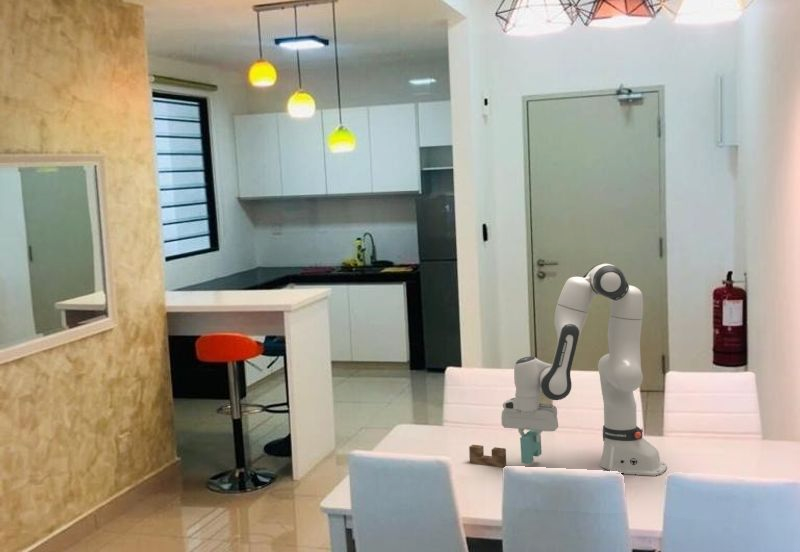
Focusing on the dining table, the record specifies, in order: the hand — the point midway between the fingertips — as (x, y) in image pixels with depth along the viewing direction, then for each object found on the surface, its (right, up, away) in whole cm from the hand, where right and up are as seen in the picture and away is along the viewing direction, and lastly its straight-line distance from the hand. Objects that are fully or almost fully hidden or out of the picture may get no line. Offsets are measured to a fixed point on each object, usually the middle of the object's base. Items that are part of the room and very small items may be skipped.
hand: (530, 441), depth 303 cm
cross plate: (0, -6, +1) cm, 6 cm away
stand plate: (-15, -9, +6) cm, 18 cm away
